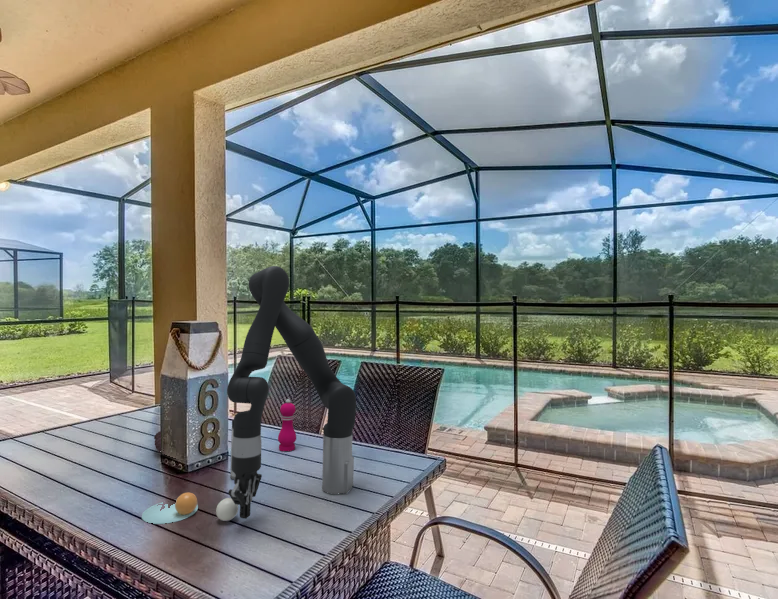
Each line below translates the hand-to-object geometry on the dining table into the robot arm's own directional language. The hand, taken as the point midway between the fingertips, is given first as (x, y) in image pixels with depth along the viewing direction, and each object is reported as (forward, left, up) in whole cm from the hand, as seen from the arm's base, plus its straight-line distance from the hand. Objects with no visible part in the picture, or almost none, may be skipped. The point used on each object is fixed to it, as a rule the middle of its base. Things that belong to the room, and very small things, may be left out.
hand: (245, 516), depth 117 cm
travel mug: (+18, -27, -2) cm, 32 cm away
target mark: (+23, 0, -2) cm, 23 cm away
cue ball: (+5, 0, +1) cm, 6 cm away
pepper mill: (+16, -57, -2) cm, 59 cm away
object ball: (+18, 0, +1) cm, 18 cm away
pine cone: (+56, -39, -2) cm, 68 cm away
